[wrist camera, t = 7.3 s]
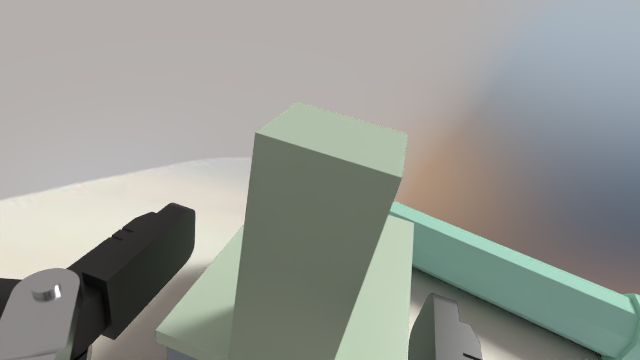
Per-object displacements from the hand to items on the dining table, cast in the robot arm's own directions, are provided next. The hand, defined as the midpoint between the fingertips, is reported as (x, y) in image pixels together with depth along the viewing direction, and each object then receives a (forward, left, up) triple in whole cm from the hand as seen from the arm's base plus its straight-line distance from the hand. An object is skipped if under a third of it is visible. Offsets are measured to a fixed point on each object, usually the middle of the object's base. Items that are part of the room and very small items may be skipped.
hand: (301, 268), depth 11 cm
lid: (0, -7, -7) cm, 9 cm away
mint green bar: (-11, -18, -13) cm, 25 cm away
